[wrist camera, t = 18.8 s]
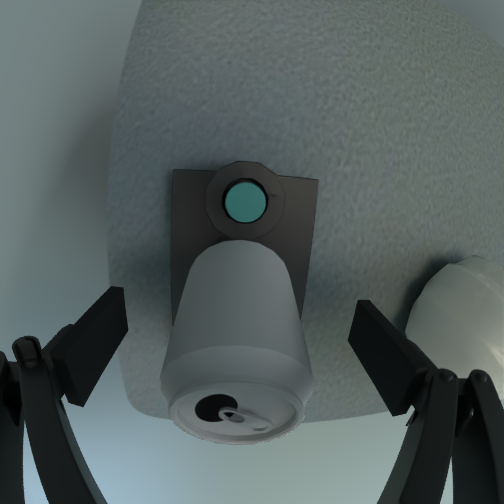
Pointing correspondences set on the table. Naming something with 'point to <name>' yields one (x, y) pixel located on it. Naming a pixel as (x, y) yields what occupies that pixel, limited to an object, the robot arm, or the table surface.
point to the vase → (463, 319)
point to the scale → (228, 229)
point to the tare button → (245, 202)
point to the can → (237, 349)
